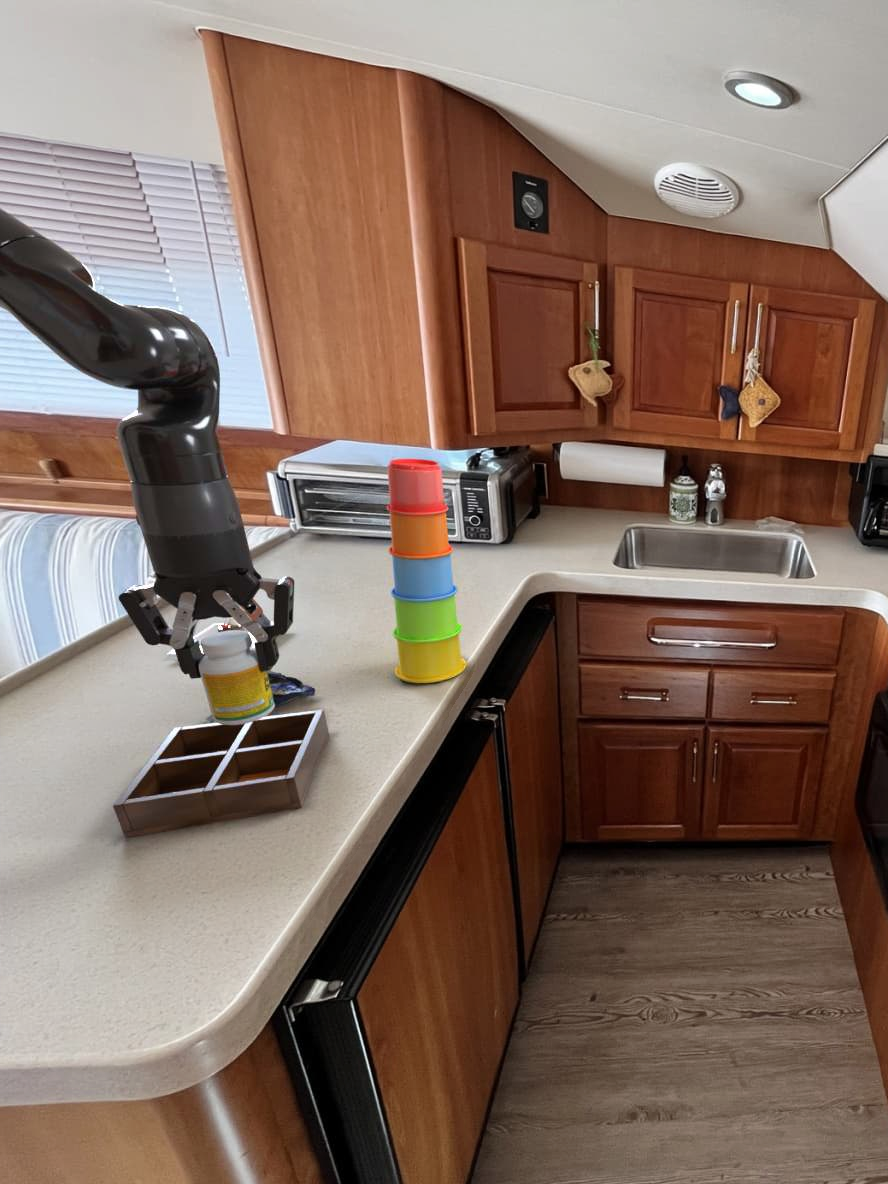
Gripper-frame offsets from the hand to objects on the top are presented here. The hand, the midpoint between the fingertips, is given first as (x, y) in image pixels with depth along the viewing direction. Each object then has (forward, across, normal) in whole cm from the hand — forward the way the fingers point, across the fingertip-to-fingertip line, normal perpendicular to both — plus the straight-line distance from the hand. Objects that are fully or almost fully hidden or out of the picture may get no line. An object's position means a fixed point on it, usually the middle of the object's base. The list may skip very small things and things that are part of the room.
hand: (233, 671), depth 70 cm
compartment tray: (+17, +4, -4) cm, 17 cm away
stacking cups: (+17, -15, -28) cm, 36 cm away
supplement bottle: (+6, 0, 0) cm, 6 cm away
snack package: (+17, +6, -23) cm, 29 cm away
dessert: (+17, +16, -47) cm, 52 cm away
